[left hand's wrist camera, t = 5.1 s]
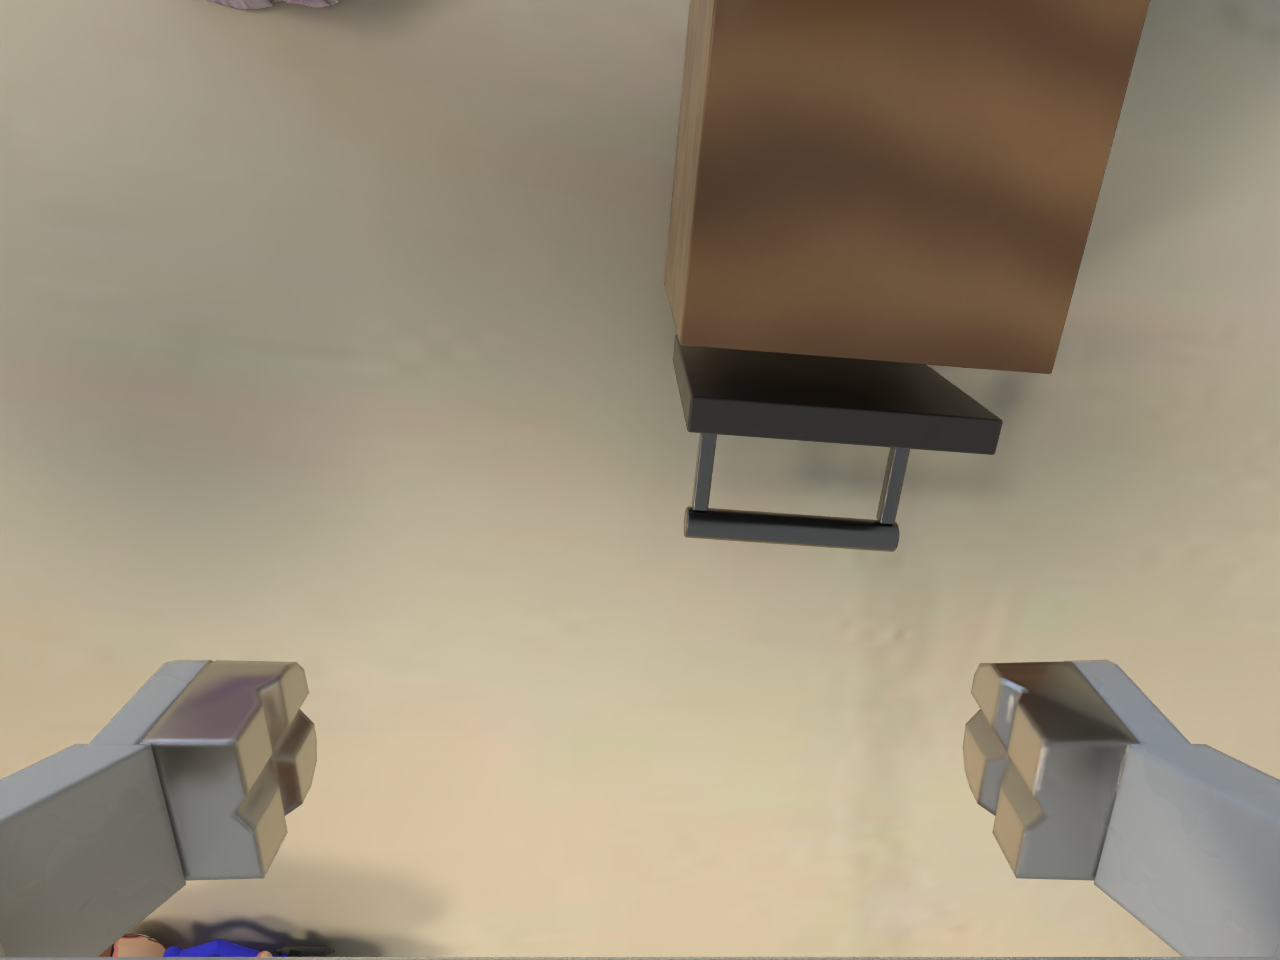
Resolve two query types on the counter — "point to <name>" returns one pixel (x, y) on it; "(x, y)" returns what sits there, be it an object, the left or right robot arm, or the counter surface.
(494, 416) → the counter surface
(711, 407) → the drawer
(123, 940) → the figurine character
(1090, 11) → the cabinet
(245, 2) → the figurine
